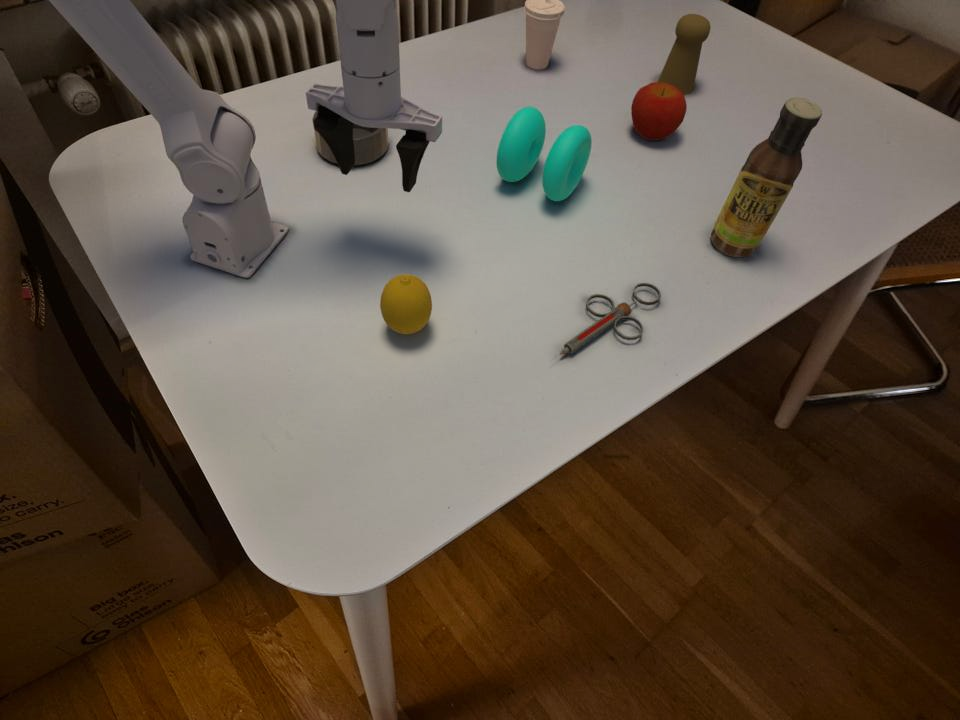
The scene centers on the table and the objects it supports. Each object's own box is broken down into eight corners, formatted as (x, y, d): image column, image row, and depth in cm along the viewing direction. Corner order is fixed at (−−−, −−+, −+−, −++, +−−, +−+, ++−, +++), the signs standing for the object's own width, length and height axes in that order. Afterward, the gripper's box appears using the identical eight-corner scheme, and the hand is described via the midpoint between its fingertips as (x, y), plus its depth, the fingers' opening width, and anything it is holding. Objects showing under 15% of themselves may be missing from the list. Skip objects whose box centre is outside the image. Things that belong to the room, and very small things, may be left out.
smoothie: (562, 62, 113) (577, -26, 102) (544, 78, 109) (557, -12, 98) (529, 50, 115) (540, -38, 104) (510, 65, 111) (520, -24, 100)
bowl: (369, 175, 91) (366, 147, 88) (304, 157, 93) (299, 128, 89) (399, 137, 97) (398, 109, 93) (337, 120, 99) (334, 91, 95)
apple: (686, 144, 100) (703, 96, 94) (641, 153, 98) (655, 105, 92) (659, 116, 105) (674, 69, 98) (616, 124, 102) (628, 76, 96)
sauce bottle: (703, 250, 86) (765, 111, 70) (714, 222, 90) (775, 83, 74) (753, 267, 85) (827, 128, 69) (761, 238, 88) (834, 99, 72)
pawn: (650, 79, 111) (669, 11, 103) (679, 72, 113) (700, 6, 104) (671, 97, 108) (692, 30, 99) (701, 91, 110) (724, 24, 101)
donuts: (524, 154, 96) (533, 90, 88) (586, 179, 94) (601, 115, 86) (489, 190, 91) (495, 125, 83) (554, 218, 88) (567, 154, 80)
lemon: (434, 313, 77) (435, 263, 70) (427, 350, 73) (427, 301, 67) (387, 308, 77) (383, 257, 70) (378, 345, 73) (373, 295, 67)
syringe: (524, 344, 74) (526, 335, 73) (629, 274, 82) (633, 264, 81) (573, 388, 71) (576, 379, 70) (678, 311, 79) (682, 301, 78)
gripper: (454, 60, 66) (451, 174, 77) (322, 28, 68) (337, 143, 79) (427, 95, 62) (427, 210, 73) (288, 60, 64) (308, 177, 75)
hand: (378, 178), depth 76 cm, fingers open, 7 cm apart
